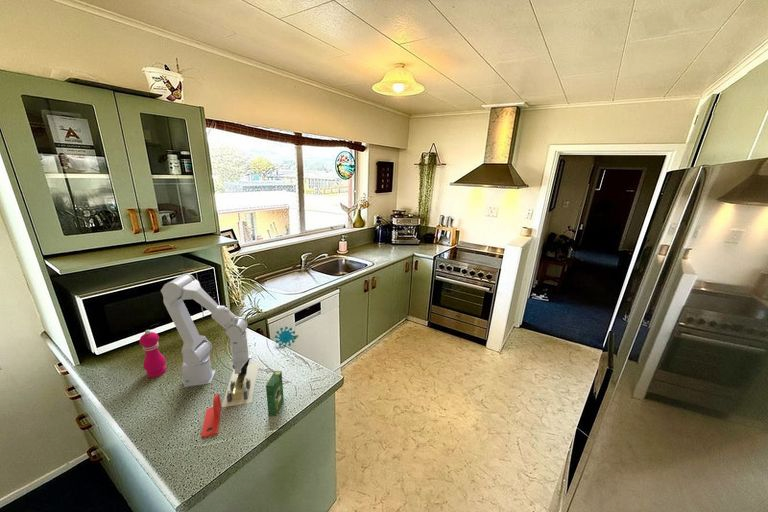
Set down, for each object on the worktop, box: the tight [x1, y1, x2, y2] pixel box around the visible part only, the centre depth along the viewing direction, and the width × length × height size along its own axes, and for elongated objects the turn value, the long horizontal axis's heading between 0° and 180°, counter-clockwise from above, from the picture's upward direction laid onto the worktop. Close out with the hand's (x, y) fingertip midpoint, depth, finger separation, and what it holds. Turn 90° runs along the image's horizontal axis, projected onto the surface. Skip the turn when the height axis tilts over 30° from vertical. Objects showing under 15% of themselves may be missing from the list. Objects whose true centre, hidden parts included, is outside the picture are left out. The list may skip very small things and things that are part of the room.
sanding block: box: [233, 374, 246, 400], centre depth 112 cm, size 3×10×3 cm, turn 16°
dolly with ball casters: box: [227, 378, 251, 402], centre depth 110 cm, size 7×8×3 cm
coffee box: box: [265, 370, 285, 417], centre depth 104 cm, size 8×3×13 cm, turn 178°
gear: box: [274, 326, 299, 348], centre depth 144 cm, size 11×6×10 cm
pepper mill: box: [139, 329, 167, 378], centre depth 117 cm, size 7×7×20 cm
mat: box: [221, 362, 260, 408], centre depth 116 cm, size 10×23×1 cm, turn 15°
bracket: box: [201, 393, 222, 439], centre depth 97 cm, size 12×4×8 cm, turn 23°
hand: (243, 376), depth 118 cm, fingers closed
